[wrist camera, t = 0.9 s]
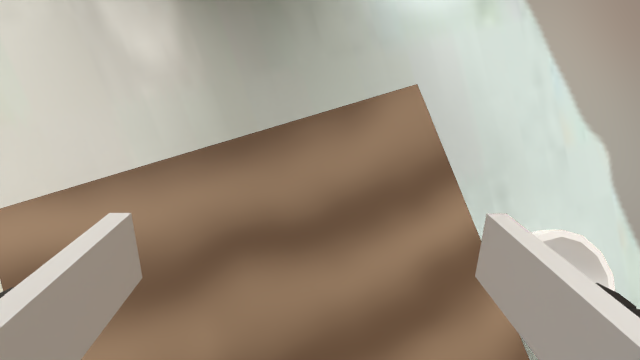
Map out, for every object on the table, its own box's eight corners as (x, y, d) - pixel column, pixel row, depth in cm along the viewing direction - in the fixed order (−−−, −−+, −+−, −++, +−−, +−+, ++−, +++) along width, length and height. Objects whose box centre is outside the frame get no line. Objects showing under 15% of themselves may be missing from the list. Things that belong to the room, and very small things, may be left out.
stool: (124, 224, 36) (-32, 207, 17) (342, 153, 42) (414, 76, 22) (197, 467, 34) (113, 772, 14) (419, 359, 39) (577, 477, 20)
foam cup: (455, 219, 43) (537, 210, 30) (519, 254, 43) (627, 260, 31) (424, 293, 40) (499, 317, 28) (493, 329, 41) (597, 368, 28)
